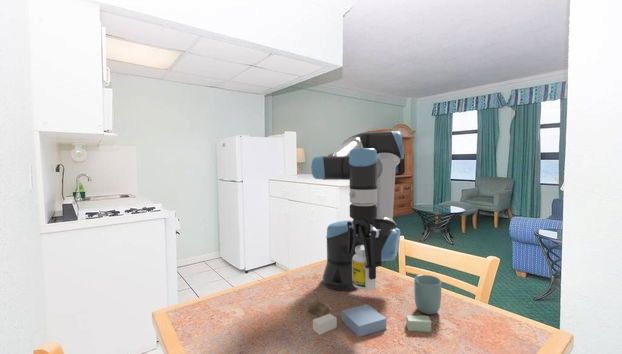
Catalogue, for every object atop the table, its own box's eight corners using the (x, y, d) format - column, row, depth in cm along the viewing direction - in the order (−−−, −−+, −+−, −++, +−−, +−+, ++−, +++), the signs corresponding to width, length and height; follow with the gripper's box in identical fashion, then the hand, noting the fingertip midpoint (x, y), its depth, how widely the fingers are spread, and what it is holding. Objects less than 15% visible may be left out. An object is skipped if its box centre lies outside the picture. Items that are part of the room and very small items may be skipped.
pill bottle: (349, 282, 87) (348, 245, 86) (368, 280, 89) (368, 243, 88) (357, 291, 81) (357, 251, 80) (378, 288, 83) (378, 249, 82)
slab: (342, 320, 88) (341, 310, 88) (367, 313, 92) (367, 304, 91) (358, 337, 80) (358, 326, 80) (386, 328, 83) (386, 318, 83)
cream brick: (319, 335, 81) (319, 324, 81) (313, 330, 84) (312, 319, 84) (336, 328, 85) (336, 317, 84) (330, 323, 87) (330, 313, 87)
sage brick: (408, 331, 82) (408, 320, 82) (406, 325, 85) (406, 315, 85) (431, 332, 82) (431, 321, 82) (428, 326, 85) (428, 316, 85)
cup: (443, 319, 88) (444, 285, 87) (415, 316, 90) (416, 284, 89) (437, 306, 96) (438, 275, 95) (412, 304, 97) (412, 273, 97)
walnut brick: (308, 312, 93) (308, 303, 93) (315, 309, 95) (314, 300, 95) (322, 319, 89) (322, 309, 89) (329, 315, 91) (329, 306, 91)
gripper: (334, 200, 91) (335, 275, 92) (372, 210, 73) (372, 302, 75) (356, 198, 94) (356, 271, 95) (396, 207, 76) (396, 296, 78)
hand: (363, 284), depth 85 cm, fingers closed on pill bottle, 6 cm apart
